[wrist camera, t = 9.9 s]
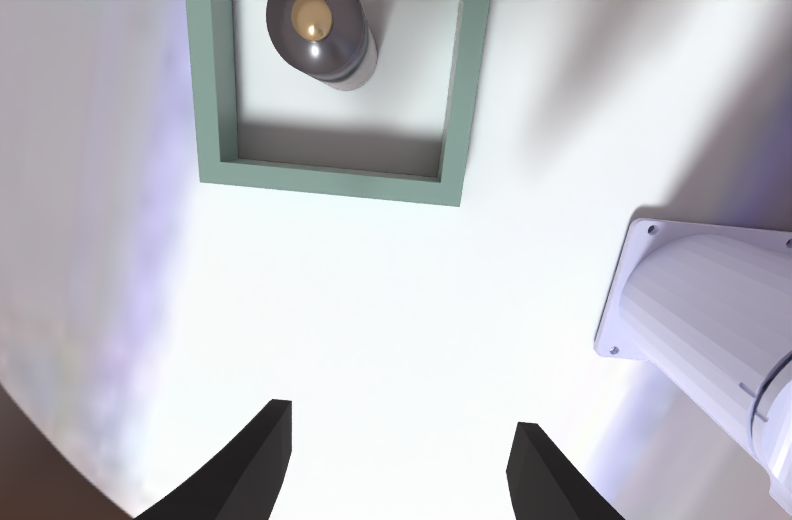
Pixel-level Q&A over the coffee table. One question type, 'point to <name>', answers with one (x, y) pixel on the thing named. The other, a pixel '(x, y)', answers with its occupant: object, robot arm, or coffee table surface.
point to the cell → (324, 40)
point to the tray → (223, 166)
